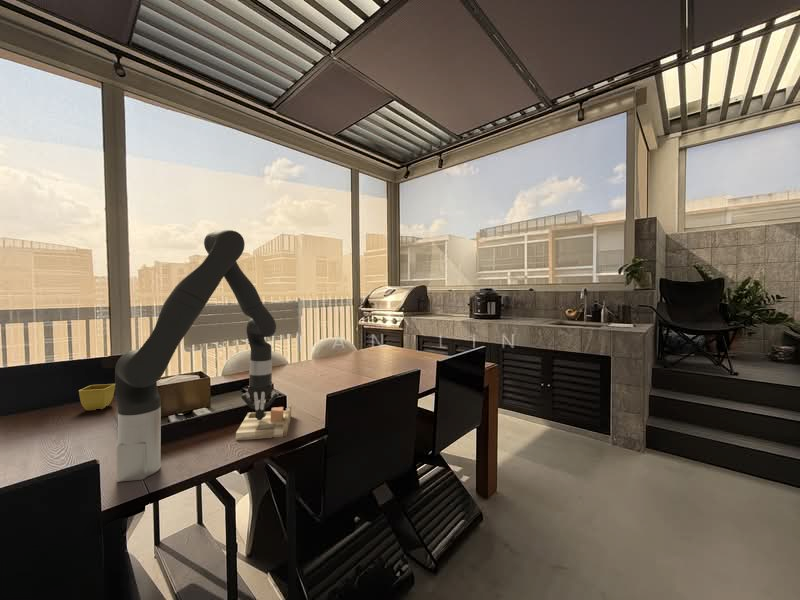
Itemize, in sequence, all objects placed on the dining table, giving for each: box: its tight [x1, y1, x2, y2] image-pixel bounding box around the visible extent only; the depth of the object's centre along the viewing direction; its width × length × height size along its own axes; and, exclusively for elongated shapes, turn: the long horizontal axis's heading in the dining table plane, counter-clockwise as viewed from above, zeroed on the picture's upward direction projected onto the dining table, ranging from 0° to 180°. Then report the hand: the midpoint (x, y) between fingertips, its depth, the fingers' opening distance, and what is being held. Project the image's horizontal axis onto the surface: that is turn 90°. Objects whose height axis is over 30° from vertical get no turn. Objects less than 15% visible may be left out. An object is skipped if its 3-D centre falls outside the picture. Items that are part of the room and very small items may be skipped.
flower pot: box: [78, 383, 115, 411], centre depth 138 cm, size 9×9×9 cm
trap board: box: [235, 403, 292, 441], centre depth 123 cm, size 19×16×5 cm
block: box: [270, 406, 284, 422], centre depth 123 cm, size 4×4×4 cm
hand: (259, 419), depth 122 cm, fingers closed
